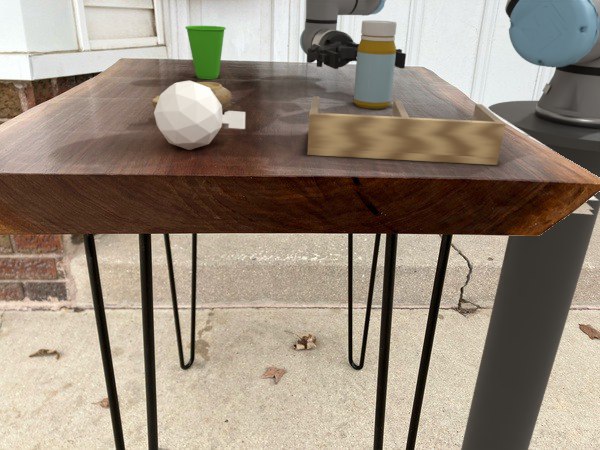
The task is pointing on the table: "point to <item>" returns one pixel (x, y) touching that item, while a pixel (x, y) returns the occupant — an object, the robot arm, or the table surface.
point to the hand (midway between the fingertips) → (370, 61)
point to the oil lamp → (217, 89)
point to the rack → (406, 136)
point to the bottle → (375, 64)
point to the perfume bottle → (193, 115)
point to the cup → (206, 49)
